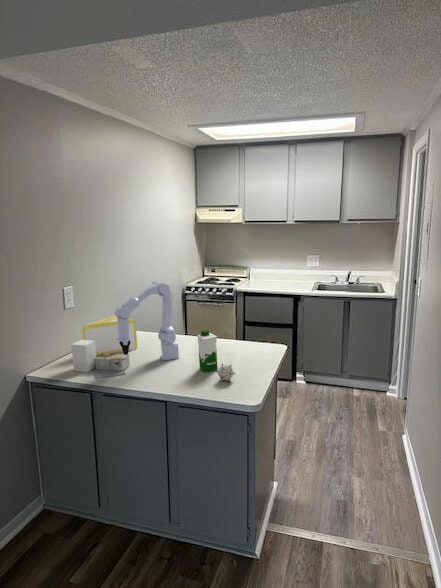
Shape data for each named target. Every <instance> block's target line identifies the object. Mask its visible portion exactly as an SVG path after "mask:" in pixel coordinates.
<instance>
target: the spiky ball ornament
mask: <svg viewBox="0 0 441 588" xmlns="http://www.w3.org/2000/svg"><path fill="white" fill-rule="evenodd" d="M232 366H233V365H232V364H230V365H227V364H223V363H221V366H220V367H219V369H218V370H215V373H217V375H218V376H219V378H220V379H219V381H220V382H221V381H227V382H229V383H231V382H230V380H232V378H233V376H234V375H236V373H235V372H234V370H233V368H232Z"/></svg>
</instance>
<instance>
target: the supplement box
mask: <svg viewBox="0 0 441 588" xmlns="http://www.w3.org/2000/svg"><path fill="white" fill-rule="evenodd" d="M70 347H71V356H72V362H73V363H72V364H73V372H80V373H81V372H82V373H88V372H91V371H92V370H95V363H94V362H95V361H94V359H95V358H96V357H97V355H96V350H95V341H91V340H83V339H80V340H77V341H75V342H73V343H72V344H70Z"/></svg>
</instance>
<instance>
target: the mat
mask: <svg viewBox="0 0 441 588" xmlns="http://www.w3.org/2000/svg"><path fill="white" fill-rule="evenodd" d="M94 370H95V369H94ZM94 373H95V374H94V375H95V376H94V379H96V380H97V379H103V378H109V377H110V378H111V377H118V376H125V375H126V368H125V369H124V370H123V371H113V370H95V371H94Z"/></svg>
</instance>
